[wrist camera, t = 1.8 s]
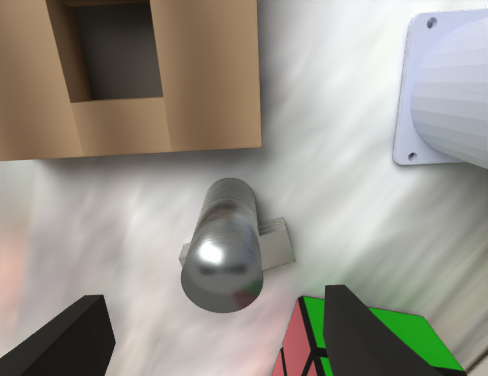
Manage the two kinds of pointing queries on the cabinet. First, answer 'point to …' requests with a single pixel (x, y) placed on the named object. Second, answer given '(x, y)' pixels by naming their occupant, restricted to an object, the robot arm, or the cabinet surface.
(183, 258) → the blade bit
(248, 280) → the dowel bit
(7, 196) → the cabinet surface
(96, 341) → the robot arm
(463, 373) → the puzzle cube
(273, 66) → the cabinet surface
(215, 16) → the socket block
